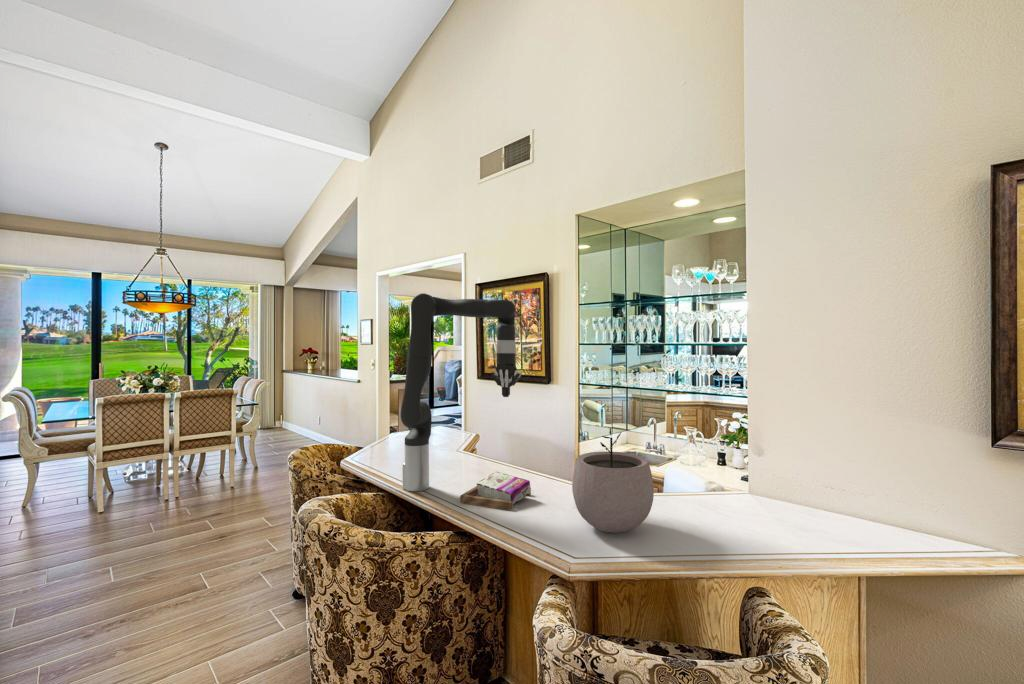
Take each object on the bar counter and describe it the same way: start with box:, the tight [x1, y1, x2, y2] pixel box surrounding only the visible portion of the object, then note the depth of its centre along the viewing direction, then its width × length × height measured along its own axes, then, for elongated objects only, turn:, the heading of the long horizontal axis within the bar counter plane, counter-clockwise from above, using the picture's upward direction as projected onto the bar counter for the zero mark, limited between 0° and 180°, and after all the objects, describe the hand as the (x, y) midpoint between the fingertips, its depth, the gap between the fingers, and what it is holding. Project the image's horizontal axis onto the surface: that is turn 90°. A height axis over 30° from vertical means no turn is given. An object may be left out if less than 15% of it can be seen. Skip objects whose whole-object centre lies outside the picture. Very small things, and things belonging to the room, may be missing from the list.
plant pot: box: [571, 427, 655, 534], centre depth 141 cm, size 24×24×30 cm
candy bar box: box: [476, 471, 532, 506], centre depth 170 cm, size 11×5×16 cm
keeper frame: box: [459, 485, 532, 511], centre depth 169 cm, size 20×18×2 cm
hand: (505, 396), depth 182 cm, fingers closed
